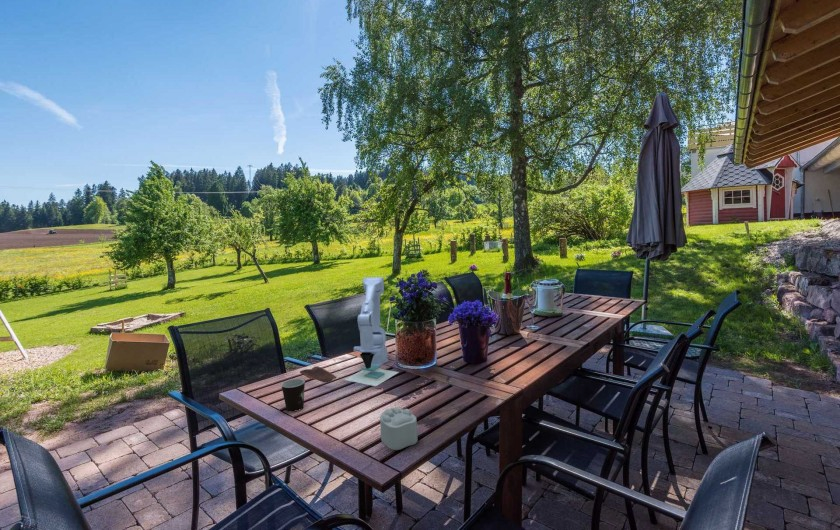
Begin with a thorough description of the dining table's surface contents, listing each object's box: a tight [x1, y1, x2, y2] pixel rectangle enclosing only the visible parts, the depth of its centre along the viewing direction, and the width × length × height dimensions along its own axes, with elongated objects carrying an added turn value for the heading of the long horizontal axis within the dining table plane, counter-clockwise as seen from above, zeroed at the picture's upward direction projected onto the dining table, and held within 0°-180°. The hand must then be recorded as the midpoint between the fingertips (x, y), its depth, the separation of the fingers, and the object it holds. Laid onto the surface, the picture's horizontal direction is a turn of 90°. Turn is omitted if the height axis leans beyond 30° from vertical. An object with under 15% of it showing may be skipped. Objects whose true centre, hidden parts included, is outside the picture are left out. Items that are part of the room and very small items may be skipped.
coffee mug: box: [281, 378, 306, 412], centre depth 151 cm, size 12×9×10 cm
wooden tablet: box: [299, 366, 337, 383], centre depth 183 cm, size 26×2×10 cm
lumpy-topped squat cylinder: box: [379, 407, 419, 451], centre depth 125 cm, size 10×13×9 cm
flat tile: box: [360, 364, 382, 372], centre depth 187 cm, size 6×7×2 cm
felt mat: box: [343, 368, 399, 387], centre depth 179 cm, size 18×18×1 cm
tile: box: [364, 371, 385, 381], centre depth 177 cm, size 6×2×7 cm
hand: (368, 367), depth 178 cm, fingers closed
